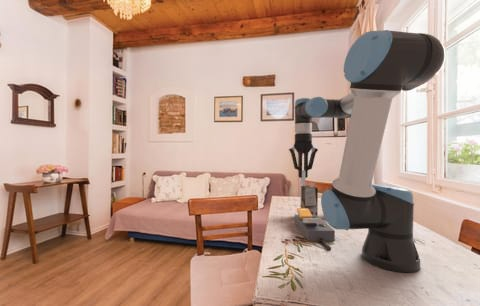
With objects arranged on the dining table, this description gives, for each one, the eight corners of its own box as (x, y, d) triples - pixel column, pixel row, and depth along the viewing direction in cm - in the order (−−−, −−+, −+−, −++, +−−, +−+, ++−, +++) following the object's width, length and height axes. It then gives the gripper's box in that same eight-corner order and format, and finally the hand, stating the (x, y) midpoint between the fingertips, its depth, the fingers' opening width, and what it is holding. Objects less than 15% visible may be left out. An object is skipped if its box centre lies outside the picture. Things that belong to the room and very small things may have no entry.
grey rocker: (320, 223, 89) (320, 218, 90) (307, 222, 89) (307, 218, 90) (315, 222, 96) (314, 218, 96) (303, 222, 96) (302, 218, 96)
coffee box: (318, 220, 112) (318, 187, 112) (304, 220, 112) (304, 187, 112) (312, 215, 121) (312, 185, 121) (300, 215, 121) (300, 185, 121)
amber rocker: (312, 219, 100) (312, 216, 99) (300, 219, 100) (301, 216, 99) (307, 211, 106) (308, 208, 106) (297, 211, 106) (297, 208, 106)
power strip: (344, 250, 79) (344, 236, 79) (314, 250, 79) (314, 236, 79) (315, 223, 109) (315, 213, 109) (294, 222, 109) (294, 213, 109)
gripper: (314, 133, 109) (314, 183, 109) (287, 133, 109) (287, 183, 109) (320, 132, 101) (319, 186, 102) (290, 132, 101) (290, 186, 102)
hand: (302, 184), depth 105 cm, fingers closed
